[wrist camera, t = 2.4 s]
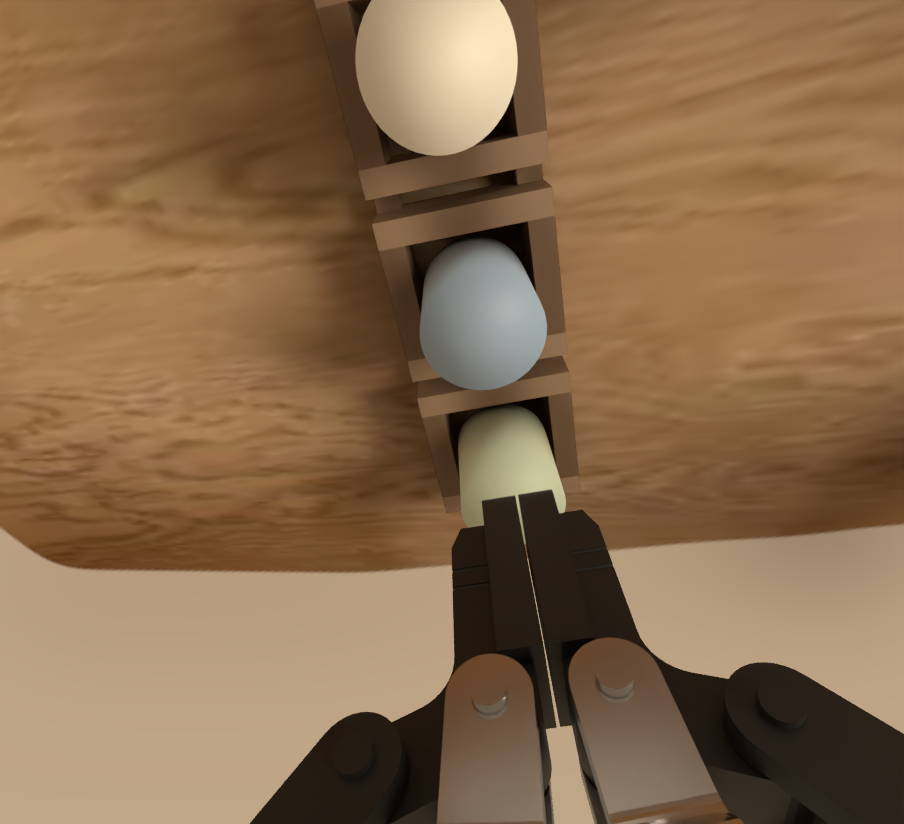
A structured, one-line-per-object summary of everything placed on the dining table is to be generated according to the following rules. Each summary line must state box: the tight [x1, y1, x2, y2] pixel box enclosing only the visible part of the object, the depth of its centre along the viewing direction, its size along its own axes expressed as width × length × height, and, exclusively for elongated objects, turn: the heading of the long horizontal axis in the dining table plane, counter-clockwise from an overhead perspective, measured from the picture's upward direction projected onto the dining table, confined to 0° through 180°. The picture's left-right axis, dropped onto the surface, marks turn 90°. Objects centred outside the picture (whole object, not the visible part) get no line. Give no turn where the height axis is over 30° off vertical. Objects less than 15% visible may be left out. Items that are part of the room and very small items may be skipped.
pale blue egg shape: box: [420, 236, 547, 390], centre depth 24 cm, size 5×5×6 cm
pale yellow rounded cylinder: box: [458, 404, 566, 544], centre depth 28 cm, size 5×5×6 cm
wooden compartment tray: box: [314, 0, 580, 513], centre depth 27 cm, size 8×27×4 cm, turn 11°
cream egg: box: [355, 0, 518, 156], centre depth 19 cm, size 5×5×6 cm
